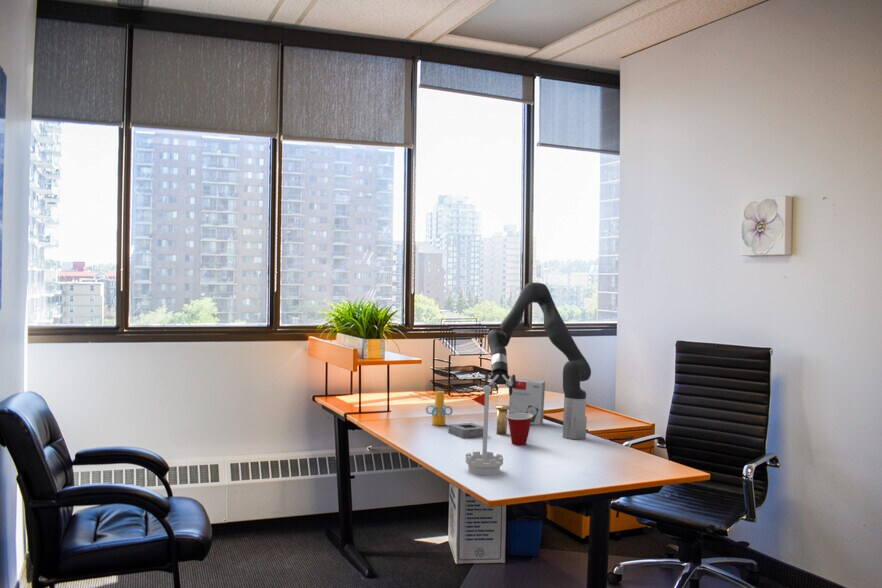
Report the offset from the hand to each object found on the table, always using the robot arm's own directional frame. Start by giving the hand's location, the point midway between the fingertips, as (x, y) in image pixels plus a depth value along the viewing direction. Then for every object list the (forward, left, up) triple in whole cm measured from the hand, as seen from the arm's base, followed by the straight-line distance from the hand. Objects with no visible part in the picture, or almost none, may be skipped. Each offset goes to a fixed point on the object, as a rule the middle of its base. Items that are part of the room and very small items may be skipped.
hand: (500, 394), depth 331 cm
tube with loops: (+17, +22, -16) cm, 32 cm away
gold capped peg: (-10, +6, -16) cm, 19 cm away
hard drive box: (+7, -20, -16) cm, 27 cm away
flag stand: (-59, +48, -16) cm, 77 cm away
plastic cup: (-29, +11, -16) cm, 34 cm away
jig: (-6, +21, -16) cm, 26 cm away
